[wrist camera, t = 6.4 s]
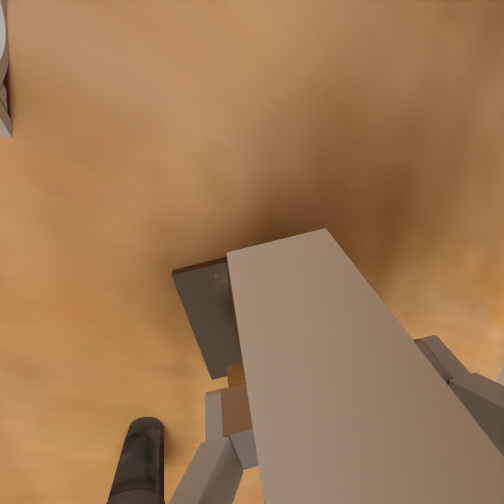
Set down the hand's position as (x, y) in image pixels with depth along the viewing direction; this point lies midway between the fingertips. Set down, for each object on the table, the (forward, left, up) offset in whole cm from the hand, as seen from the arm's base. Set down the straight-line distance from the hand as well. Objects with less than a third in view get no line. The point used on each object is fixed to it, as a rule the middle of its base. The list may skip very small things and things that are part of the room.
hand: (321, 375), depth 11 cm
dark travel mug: (+20, +31, -24) cm, 44 cm away
